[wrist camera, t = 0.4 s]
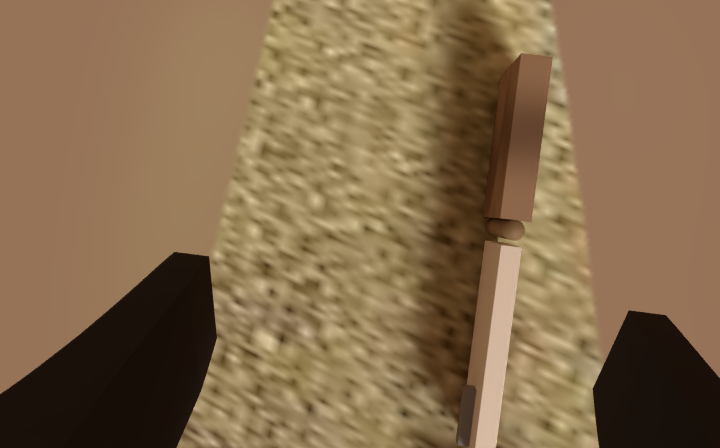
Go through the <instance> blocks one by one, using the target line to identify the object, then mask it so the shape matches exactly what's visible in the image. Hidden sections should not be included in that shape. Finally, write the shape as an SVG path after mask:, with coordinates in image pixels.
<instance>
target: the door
mask: <svg viewBox="0 0 720 448" xmlns="http://www.w3.org/2000/svg"><path fill="white" fill-rule="evenodd" d="M521 249H522V248H521V247H518V246H514V245H511V244H507V243H504V242H497V241H488V240H485V245H484V253H483V261H482V269H481V276H480V284H479V292H478V300H477V308H476V316H475V324H474V331H473V339H472V347H471V355H470V363H469V371H468V378H467V385H465V384H463V388H462V396H461V404H460V412H459V420H458V427H457V435H456V441H457V445H460V446H466V447H467V448H496V443H497V435H498V427H499V419H500V412H501V404H502V396H503V388H504V381H505V373H506V365H507V358H508V350H509V342H510V334H511V327H512V319H513V311H514V303H515V296H516V288H517V280H518V272H519V265H520V257H521Z"/></svg>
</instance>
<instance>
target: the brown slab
mask: <svg viewBox="0 0 720 448" xmlns="http://www.w3.org/2000/svg"><path fill="white" fill-rule="evenodd" d="M551 65H552V57H549V56H540V55H531V54H522V53H521V54H520V56H519V57H518V58H517V59H516V60H515V61H514V63H513V64H512V65H511V66H510V67H509V68H508V69H507V71H506V72H505V73H504V74H503V75H502V76H501V78H500V86H499V94H498V101H497V109H496V117H495V125H494V133H493V141H492V149H491V156H490V164H489V172H488V180H487V188H486V196H485V204H484V212H483V217H488V218H493V219H490V220H489V221H488V222H487V224H486V230H487V232H488V233H489V234H490V235H493V236H497V237H501V238H505V239H509V240H513V241H516V240H519V239H521V238H522V237H523V235H524V233H525V228H524V225H523V224H522V223H521V222H520V221H526V222H531V220H532V212H533V204H534V196H535V189H536V181H537V173H538V165H539V158H540V150H541V142H542V135H543V127H544V119H545V111H546V104H547V96H548V88H549V81H550V73H551Z"/></svg>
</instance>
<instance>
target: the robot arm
mask: <svg viewBox="0 0 720 448" xmlns="http://www.w3.org/2000/svg"><path fill="white" fill-rule="evenodd" d="M216 339H217V335H216V324H215V314H214V303H213V293H212V283H211V272H210V262H209V256H201V255H194V254H186V253H178V252H174V253H173V254H172V255H171V256H169V257H168V258H167V259H166V260H165V261H163V262H162V263H161V264H160V265H159V266H158V267H157V268H155V269H154V270H153V271H152V272H151V273H150V274H149V275H148V276H147V277H146V278H144V279H143V280H142V281H141V282H140V283H139V284H138V285H137V286H136V287H134V288H133V289H132V290H131V291H130V292H129V293H128V294H127V295H125V296H124V297H123V298H122V299H121V300H120V301H119V302H117V303H116V304H115V305H114V306H113V307H112V308H110V309H109V310H108V311H107V312H106V313H105V314H103V315H102V316H101V317H100V318H99V319H97V320H96V321H95V322H94V323H93V324H92V325H90V326H89V327H88V328H87V329H86V330H85V331H83V332H82V333H81V334H80V335H79V336H77V337H76V338H75V339H73V340H72V341H71V342H70V343H69V344H67V345H66V346H65V347H63V348H62V349H61V350H59V351H58V352H57V353H55V354H54V355H53V356H52V357H50V358H49V359H48V360H46V361H45V362H44V363H43V364H41V365H40V366H39V367H38V368H36V369H35V370H33V371H32V372H31V373H29V374H28V375H27V376H25V377H24V378H23V379H21V380H20V381H18V382H17V383H16V384H14V385H13V386H11V387H10V388H9V389H7V390H6V391H4V392H3V393H1V394H0V448H176V447H177V445H178V443H179V440H180V438H181V436H182V434H183V431H184V429H185V427H186V424H187V422H188V420H189V418H190V415H191V413H192V411H193V408H194V406H195V404H196V401H197V399H198V397H199V394H200V392H201V389H202V386H203V383H204V380H205V376H206V373H207V370H208V367H209V363H210V360H211V356H212V353H213V350H214V346H215V343H216ZM593 396H594V406H595V417H596V425H597V434H598V442H599V448H720V378H719V377H718V376H717V375H716V373H715V372H714V371H713V370H712V369H711V367H710V366H709V365H708V364H707V363H706V362H705V360H704V359H703V358H702V357H701V356H700V355H699V353H698V352H697V351H696V350H695V349H694V347H693V346H692V345H691V344H690V343H689V341H688V340H687V339H686V338H685V337H684V336H683V334H682V333H681V332H680V331H679V330H678V329H677V327H676V326H675V325H674V324H673V323H672V322H671V321H670V320H669V318H668V317H667V316H666V315H660V314H651V313H644V312H636V311H628V314H627V316H626V318H625V320H624V322H623V325H622V326H621V329H620V331H619V333H618V335H617V337H616V340H615V342H614V344H613V346H612V348H611V351H610V353H609V355H608V357H607V359H606V361H605V363H604V366H603V368H602V370H601V372H600V374H599V376H598V379H597V381H596V383H595V385H594V387H593Z"/></svg>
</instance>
